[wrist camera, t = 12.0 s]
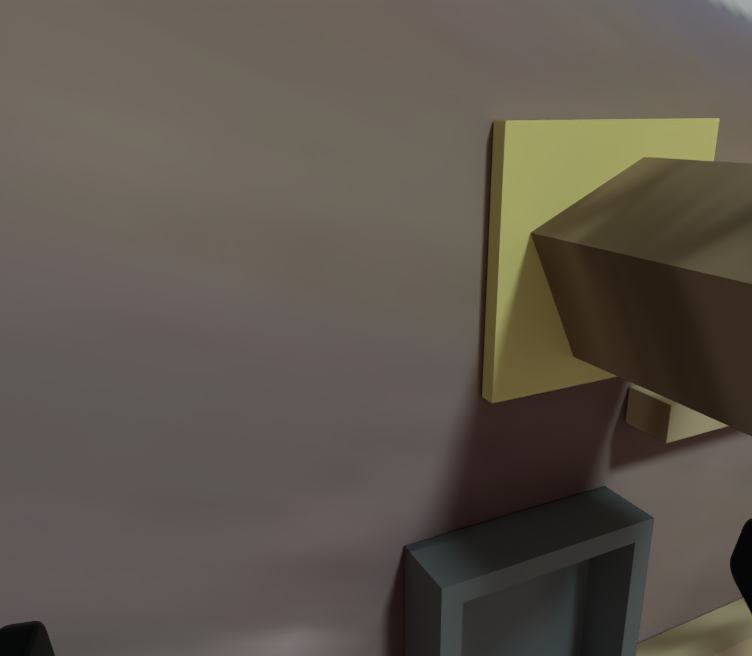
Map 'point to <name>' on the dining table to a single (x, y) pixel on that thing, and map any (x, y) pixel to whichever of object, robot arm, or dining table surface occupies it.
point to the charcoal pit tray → (532, 582)
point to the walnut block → (661, 281)
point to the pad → (537, 206)
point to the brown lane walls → (724, 625)
